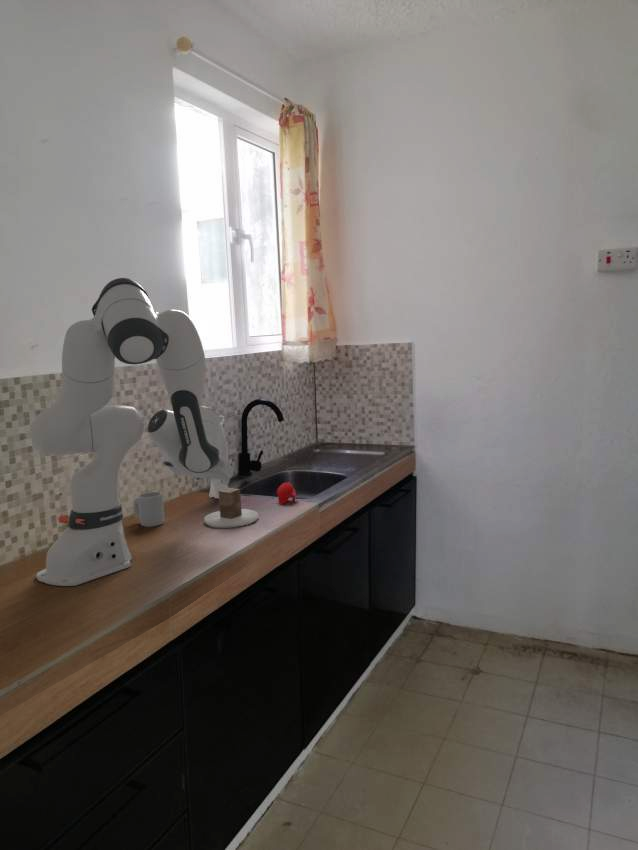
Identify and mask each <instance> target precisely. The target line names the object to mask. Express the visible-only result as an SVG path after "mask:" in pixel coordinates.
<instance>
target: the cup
mask: <svg viewBox="0 0 638 850" xmlns="http://www.w3.org/2000/svg"><path fill="white" fill-rule="evenodd" d="M133 513H134V515H135V517H136V518H138V519H139V522H140V526H141V527H143V526H145V527H144V528H152V527H153V526H154V527H158V525H159V526H161V524H162V525H163V524H165V521H166V520H165V519H166V518H165V517H166V516H165V506H164V494H163V492H161V491H149V492H143V493H140V494H138V495H137V497H136V498H135V499H134V501H133Z"/></svg>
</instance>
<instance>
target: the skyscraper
mask: <svg viewBox="0 0 638 850" xmlns="http://www.w3.org/2000/svg"><path fill="white" fill-rule="evenodd" d="M218 415H219V414H218ZM219 417H220V418H221V417H222V419H221V420H222V421H220V434H219V457H221V458H223V459H224V460H225V461H227V462H228V463H229V448H228V440H227V437H226V434H225V433H226V432H225V429H224V427H223V425H224V422H225V418H226V416H225V415H221V414H220V415H219ZM210 480H211V481H210V485H209V486H210V487H209V488H210V489H209V494H208V498H212V497H214V498H213V499H217V498H218V499H217V500H219V491H220V490H224V489H227V488H229V484H228V485H223V484H222V483H221V480H220V479H211V478H210Z"/></svg>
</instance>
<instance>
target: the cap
mask: <svg viewBox="0 0 638 850" xmlns="http://www.w3.org/2000/svg"><path fill="white" fill-rule="evenodd" d="M276 493H277V496H278V498H277V499H278V504H279V505H281V504H283V505H285V504H286V503H287V502H288V501H289V499H290V498H291V501H292V502H295V501H296V499H297V492H296V489H295V487H294V486H293V484H291V483H290V482H283V483H282V484H281V485H280V486H278V488H277V489H276Z"/></svg>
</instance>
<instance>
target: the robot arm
mask: <svg viewBox="0 0 638 850" xmlns="http://www.w3.org/2000/svg"><path fill="white" fill-rule="evenodd" d="M91 312H92V315H93V317H92V318H90V319H86V320H79V321H76V322H75V323H73V324H71V325H70V326H69V327H68V329H67V330H66V332H65V336H64V340H63V344H62V353H61V369H62V370H61V378H62V379H61V390H60V393H59V395H58V397H57V399H56V400H55V401H54V402H53V404H52V405H50V406H49V407H48V408H46V410H44V411H42V412H41V413H38V414H37V415H36V416H35V417H34V419H33V421H32V422H31V426H30V430H29V431H30V432H29V435H30V440H31V443H32V445H33V447H34V448H35V449H36V450H37V451H38V452H40V453H41V454H42V455H52V456H68V455H75V454H76V455H77V454H84V453H94V455H93V458H92V460H91V461H89V463H88V464H86V465H84V466H83V467H81V468H80V469H78V470H76V471H75V472H74V473H73V474H72V476H71V477H70V481H69V489H70V499H71V507H72V508H71V510H70V514H69V515H65V514H59V515H58V517H57V521H58V523H60V524H67V528H65V530H64V531H63V533H62V534H61V535H59V537H58V538H57V540H56V541H55V542H54V543H53V544H52V546H50V548H49V549H48V550H47V553H46V557H45V558H46V560H45V568H44V569H41V570H39V571H38V572H37V573H36V579H37V580H38V581H39V582H41V583H43V582H44V584H48V585H52V586H60V587H72V586H75V587H76V586H79V585H81V584H84V583H87V582H89V581H93V580H95V579H98V578H102V577H104V576H107V575H111V574H112V573H116V572H119V571H123V570H125V569H127V568H129V567H132V564H131V560H132V558H133V557H132V554H131V552H130V549H129V546H128V544H127V540H126V536H125V535H126V534H125V532H124V531H125V530H124V526H123V521H122V520H123V519H124V516H123V506H122V503H120V491H119V490H120V487H119V486H120V485H119V484H120V483H119V482H120V481H119V479H120V478H119V476H120V470H121V467H122V464H123V461H124V459H125V458H126V456H127V454H128V453H129V451H130V450H131V449H132V448H133V447H134V446H136V445H137V444H138V443H139V441H140V440H141V439H142V436H143V434H144V428H145V427H144V426H145V425H144V424H145V423H144V420H143V416H142V415H141V413H140V412H139V411H138V410H137V408H135V407H134V406H130V405H124V404H123V405H122V404H109V402H110V401H111V399H112V397H113V395H114V394H115V373H116V372H115V371H116V370H115V369H116V362H115V361H116V359H117V361H119V362H121V363H123V364H127V365H142V364H146V363H148V362H150V361H153V360H155V361H156V364H157V366H158V369H159V370H158V371H159V372H160V375H161V378H162V381H163V384H164V386H165V388H166V392H167V395H168V399H169V401H170V404H171V408H172V410H169V409H161V410H159V411H157V412H156V413H154V414H153V415H152V417H150V419H149V421H148V424H147V434H148V436H149V438H150V440H151V441H152V442H153V444H155V446H156V447H158V448H159V450H160V451H161V452H163V453H164V455H163V456H162V459H161V462H160V463H161V464H162V465H163V466H165V467H166V468H168V469H169V470H170V471H171V473H173V474H175V475H177V476H183V477H189V478H191V479H193V480H194V481H195V482H196V483H203V482H204V480H205V479H210V480H211V479H220V480H221V483H222V484H223V485H228V486H229V483H230V479H231V478H232V477H233V474H234V471H235V469H234V466H232V465H231V464H230V463H229V461H228V462H227V461H225V460H224V459H223V458H221V457H219V434H220V422H221V417H219V414H218V413H217V412H216V411H215V410H214V409H213V408H211V407H209V406H204V405H202V403H203V397H204V396H203V394H204V388H205V387H204V386H205V380H206V371H207V370H206V369H207V368H206V357H205V351H204V348H203V343H202V340H201V338H200V335H199V333H198V329H197V328H196V326H195V324H194V322H193V321H192V319H191V317H190V316H189V315H188V314H187V313H185V312H184V311H182V310H177V309H168V310H164V311H162V312H159V311H156V310H155V311H154V308H153V305H152V304H151V301H150V297H149V295H148V293H147V291H146V290H145V288H144V287H143V286H142V285H141V284H140V283H138V282H137V281H135V280H134V279H131V278H128V277H118V278H115V279H112V280H111V281H109V282H108V283H106V284H105V286H104V287H103V288H102V290H101V292H100V293H99V296H98V298H97V300H96V301H95V303H93V306H92V308H91ZM107 404H108V405H107Z"/></svg>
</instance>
